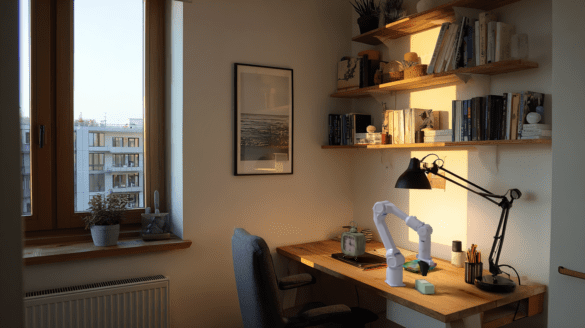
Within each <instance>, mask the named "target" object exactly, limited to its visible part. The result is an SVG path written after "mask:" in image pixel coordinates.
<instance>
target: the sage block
mask: <svg viewBox="0 0 585 328" xmlns="http://www.w3.org/2000/svg"><path fill="white" fill-rule="evenodd" d="M414 285H415V286H414V287H415V288H417V289H418V290H420V291H421V292H422V293H424V294H423V295H435V294H434V292H435V285H434V284H433V283H431V282H429V281H428V280H427V279H422V278H421V279H415V283H414Z"/></svg>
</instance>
